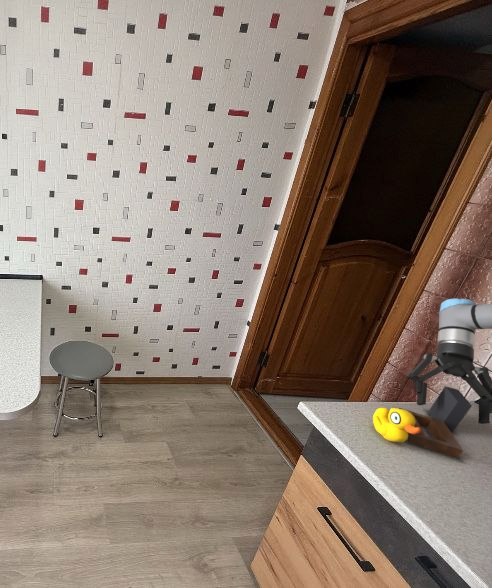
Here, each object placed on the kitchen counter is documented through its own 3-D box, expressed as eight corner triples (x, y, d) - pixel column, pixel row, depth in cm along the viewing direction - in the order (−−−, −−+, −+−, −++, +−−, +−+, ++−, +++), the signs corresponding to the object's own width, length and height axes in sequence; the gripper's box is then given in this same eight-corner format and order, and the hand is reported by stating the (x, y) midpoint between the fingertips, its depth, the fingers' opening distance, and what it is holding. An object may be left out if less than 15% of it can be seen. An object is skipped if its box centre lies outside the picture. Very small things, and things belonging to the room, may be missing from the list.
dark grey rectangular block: (440, 415, 102) (458, 389, 98) (452, 432, 95) (472, 405, 91) (428, 411, 103) (444, 385, 99) (439, 428, 97) (457, 401, 93)
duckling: (414, 456, 86) (434, 427, 82) (393, 453, 86) (411, 424, 82) (381, 423, 97) (397, 396, 93) (362, 421, 97) (377, 394, 93)
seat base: (437, 428, 96) (443, 421, 95) (457, 458, 86) (463, 450, 85) (394, 415, 100) (399, 407, 99) (408, 442, 90) (413, 434, 89)
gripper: (501, 362, 100) (500, 432, 94) (397, 337, 110) (390, 398, 104) (523, 356, 94) (524, 430, 87) (410, 330, 104) (404, 395, 97)
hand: (451, 413), depth 96 cm, fingers open, 13 cm apart
